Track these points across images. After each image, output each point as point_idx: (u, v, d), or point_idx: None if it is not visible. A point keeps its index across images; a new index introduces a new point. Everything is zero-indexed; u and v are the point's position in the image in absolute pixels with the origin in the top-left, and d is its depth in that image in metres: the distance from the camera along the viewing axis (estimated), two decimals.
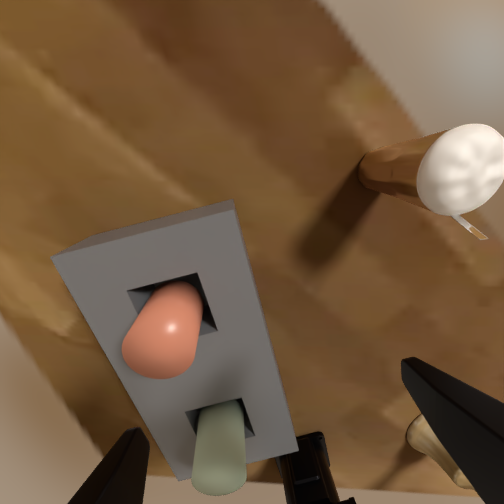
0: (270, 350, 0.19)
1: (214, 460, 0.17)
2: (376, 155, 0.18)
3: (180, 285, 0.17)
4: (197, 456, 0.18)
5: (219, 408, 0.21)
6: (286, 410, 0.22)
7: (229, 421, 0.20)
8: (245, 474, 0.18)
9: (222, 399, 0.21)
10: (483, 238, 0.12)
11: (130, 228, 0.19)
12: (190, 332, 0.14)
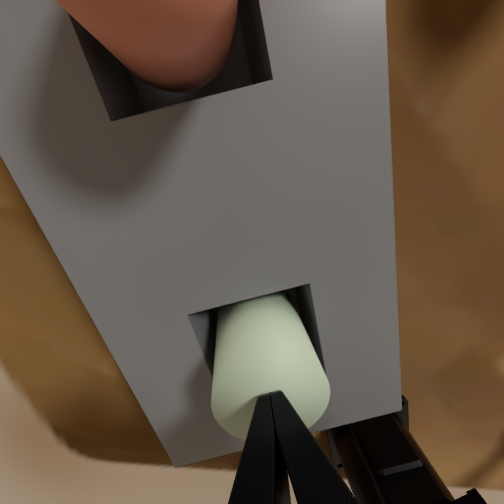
0: (388, 154, 0.08)
1: (265, 352, 0.08)
2: None
3: None
4: (223, 356, 0.09)
5: None
6: (395, 320, 0.11)
7: (279, 305, 0.10)
8: (327, 392, 0.08)
9: (269, 286, 0.10)
10: None
11: None
12: None
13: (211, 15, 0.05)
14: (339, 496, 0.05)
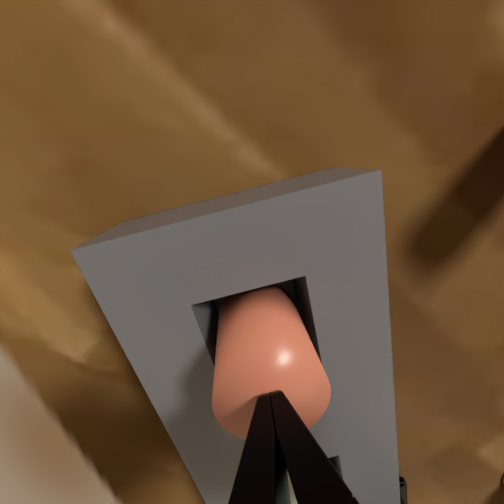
0: (392, 391, 0.13)
1: None
2: None
3: (270, 288, 0.12)
4: None
5: None
6: (396, 470, 0.15)
7: None
8: None
9: None
10: None
11: (187, 208, 0.12)
12: None
13: None
14: (339, 496, 0.05)
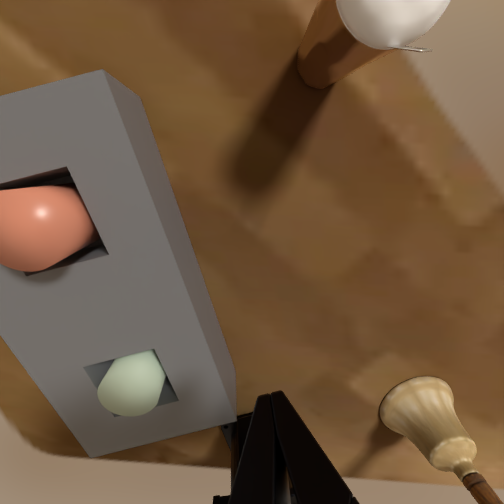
0: (182, 284, 0.15)
1: (120, 372, 0.16)
2: None
3: (74, 184, 0.15)
4: None
5: None
6: (214, 367, 0.18)
7: None
8: (157, 391, 0.17)
9: (129, 351, 0.17)
10: (425, 49, 0.08)
11: None
12: (55, 211, 0.12)
13: (77, 249, 0.14)
14: (339, 496, 0.05)
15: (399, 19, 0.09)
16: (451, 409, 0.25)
